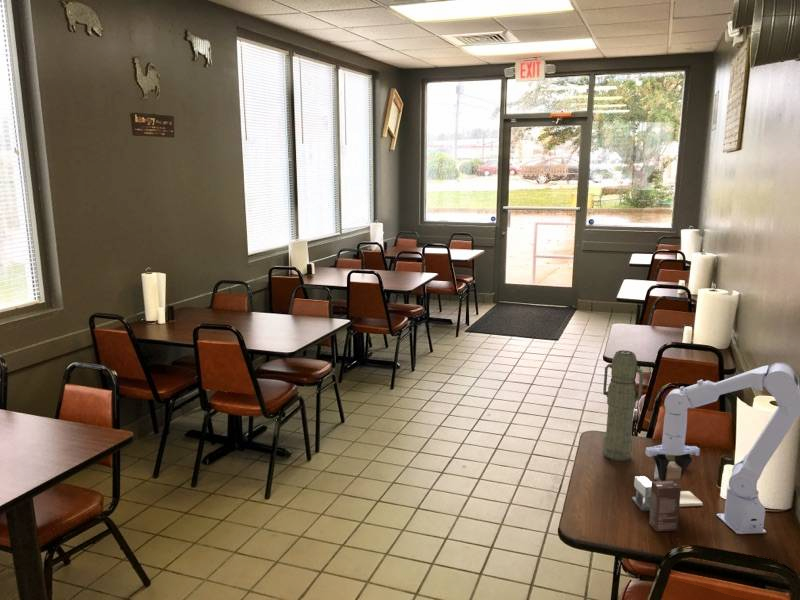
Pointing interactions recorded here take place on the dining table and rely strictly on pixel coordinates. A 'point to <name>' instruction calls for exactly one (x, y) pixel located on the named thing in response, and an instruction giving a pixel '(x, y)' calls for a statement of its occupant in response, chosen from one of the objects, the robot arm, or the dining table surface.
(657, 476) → the round canister
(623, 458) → the green thermos bottle
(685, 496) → the birch pad
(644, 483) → the mounted unit
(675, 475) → the walnut block
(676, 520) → the box
